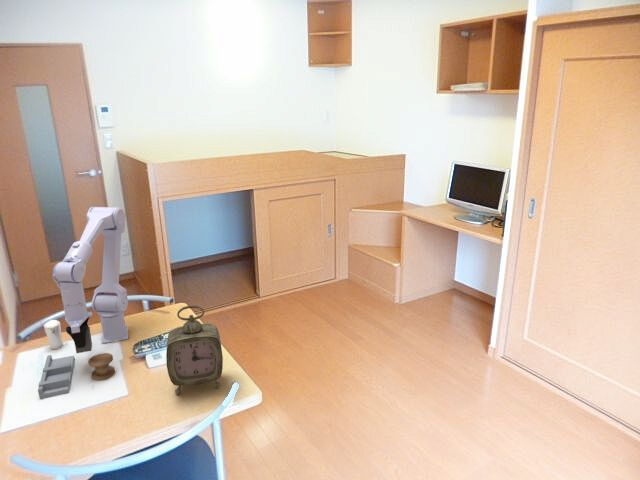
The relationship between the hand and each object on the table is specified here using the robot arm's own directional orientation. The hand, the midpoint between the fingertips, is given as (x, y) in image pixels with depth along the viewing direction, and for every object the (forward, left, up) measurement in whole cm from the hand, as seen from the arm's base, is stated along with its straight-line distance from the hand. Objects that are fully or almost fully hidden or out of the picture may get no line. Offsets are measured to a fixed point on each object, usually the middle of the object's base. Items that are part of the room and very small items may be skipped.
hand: (81, 343), depth 136 cm
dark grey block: (0, 0, -2) cm, 2 cm away
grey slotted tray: (+3, -7, -8) cm, 11 cm away
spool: (+6, +5, -8) cm, 11 cm away
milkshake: (-16, -10, -8) cm, 21 cm away
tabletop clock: (+22, +30, -8) cm, 38 cm away
